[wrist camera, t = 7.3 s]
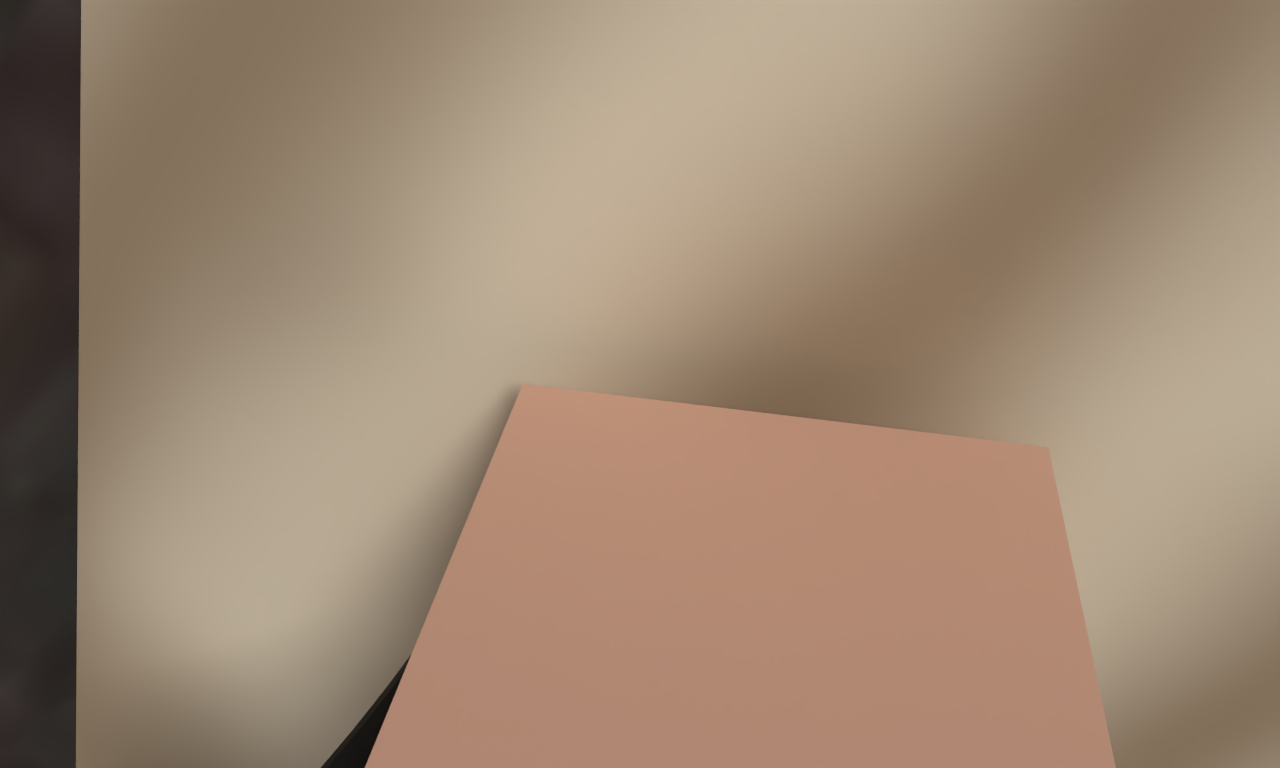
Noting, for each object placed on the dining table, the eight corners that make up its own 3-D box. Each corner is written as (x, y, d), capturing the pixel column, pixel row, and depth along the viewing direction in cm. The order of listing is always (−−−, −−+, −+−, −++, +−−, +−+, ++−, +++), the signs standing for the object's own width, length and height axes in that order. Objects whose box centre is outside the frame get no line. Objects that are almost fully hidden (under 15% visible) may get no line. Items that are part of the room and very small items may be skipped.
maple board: (2135, -31, 9) (2330, 29, 8) (1005, 1012, 20) (1013, 1103, 19) (198, -783, 8) (87, -840, 7) (124, 731, 20) (75, 808, 18)
